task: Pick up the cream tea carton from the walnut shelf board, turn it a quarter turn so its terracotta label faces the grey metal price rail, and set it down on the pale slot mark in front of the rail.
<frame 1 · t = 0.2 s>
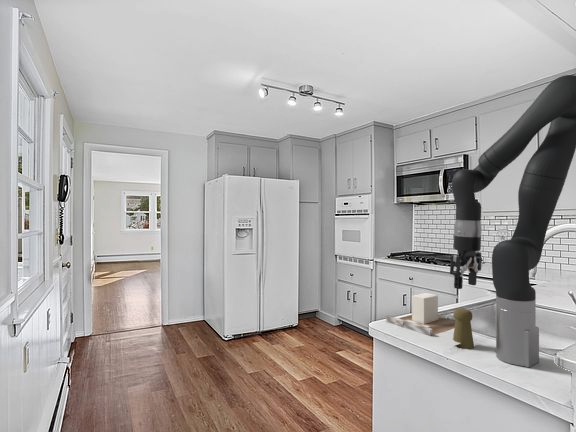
hand: (465, 286, 111), 18 cm above the counter, tool pointing down, fingers open, 8 cm apart
olive knobbed cone: (463, 345, 109), on the counter
tea carton: (425, 320, 129), point 1 cm above the counter, touching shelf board
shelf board: (425, 327, 126), on the counter
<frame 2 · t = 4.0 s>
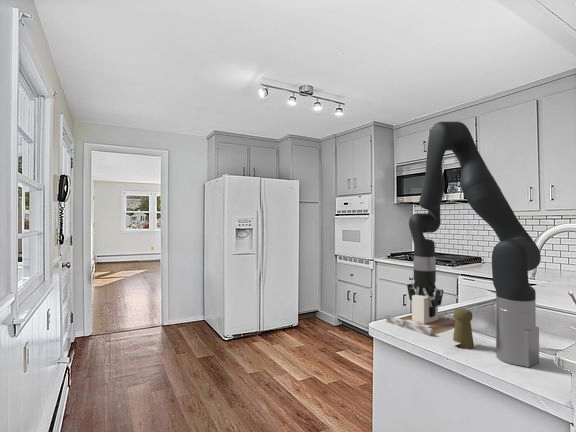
hand: (424, 314, 130), 3 cm above the counter, tool pointing down, fingers closed on tea carton, 5 cm apart
tea carton: (425, 320, 129), point 2 cm above the counter, touching gripper, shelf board
everything else where it was.
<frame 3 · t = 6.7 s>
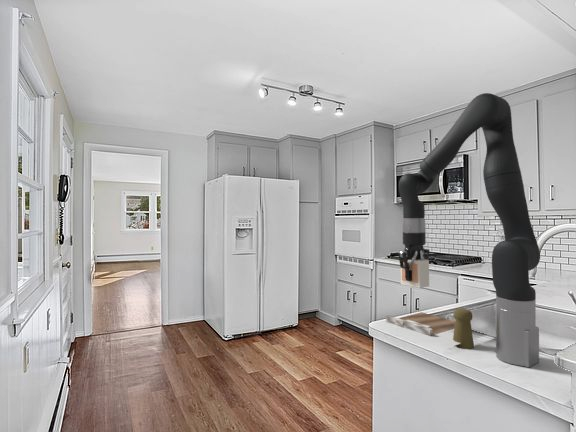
hand: (414, 279, 124), 17 cm above the counter, tool pointing down, fingers closed on tea carton, 5 cm apart
tea carton: (414, 285, 125), point 15 cm above the counter, touching gripper
everything else where it was.
when the fingers open (5 cm above the counter, at t = 9.9 s): tea carton drops 1 cm, resting on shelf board.
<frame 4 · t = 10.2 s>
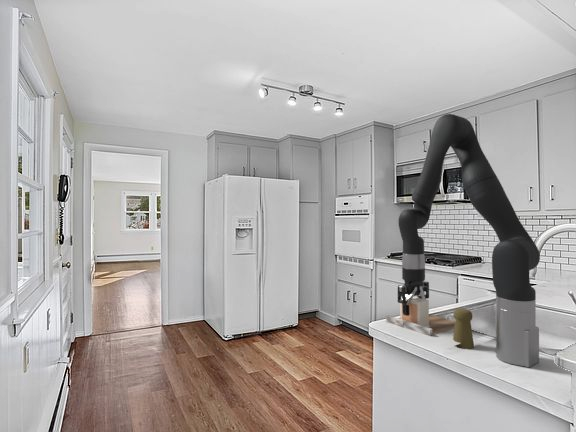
hand: (413, 313, 124), 6 cm above the counter, tool pointing down, fingers open, 7 cm apart
tea carton: (414, 324, 125), point 2 cm above the counter, touching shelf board
everything else where it was.
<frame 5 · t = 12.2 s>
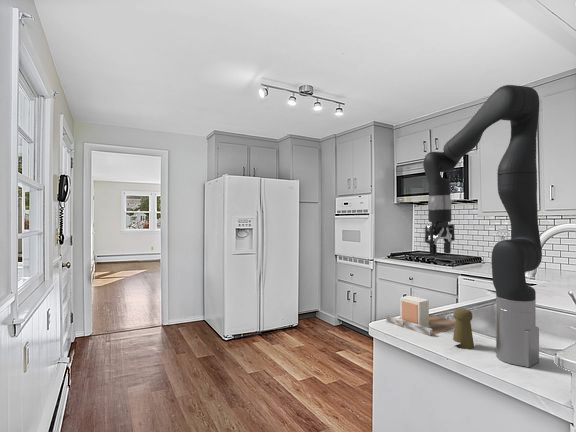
hand: (440, 254, 126), 26 cm above the counter, tool pointing down, fingers open, 8 cm apart
nothing on the counter moved.
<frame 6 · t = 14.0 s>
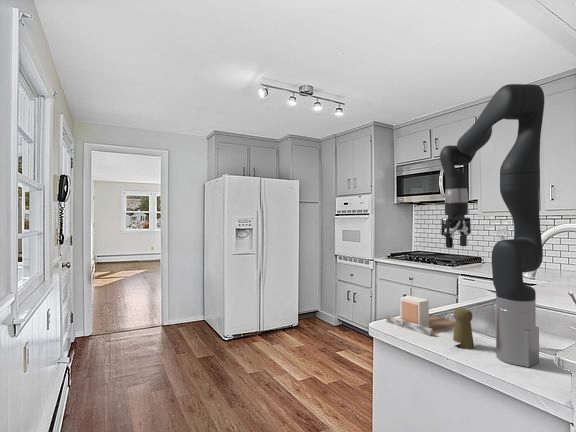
hand: (456, 247, 128), 28 cm above the counter, tool pointing down, fingers open, 8 cm apart
nothing on the counter moved.
at the end: tea carton 0.1 cm from the target spot, point 1.6 cm above the counter; tea carton tilted 0°; the gripper is holding nothing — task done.
